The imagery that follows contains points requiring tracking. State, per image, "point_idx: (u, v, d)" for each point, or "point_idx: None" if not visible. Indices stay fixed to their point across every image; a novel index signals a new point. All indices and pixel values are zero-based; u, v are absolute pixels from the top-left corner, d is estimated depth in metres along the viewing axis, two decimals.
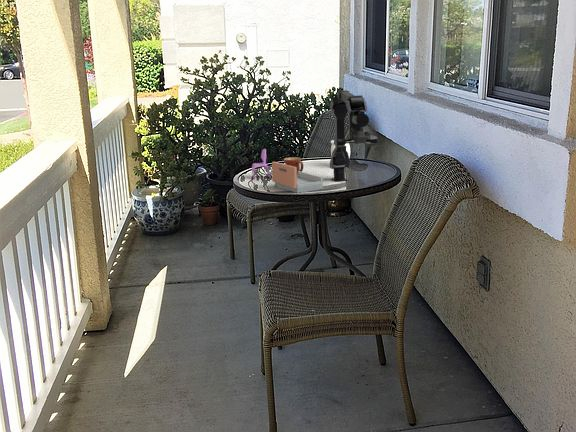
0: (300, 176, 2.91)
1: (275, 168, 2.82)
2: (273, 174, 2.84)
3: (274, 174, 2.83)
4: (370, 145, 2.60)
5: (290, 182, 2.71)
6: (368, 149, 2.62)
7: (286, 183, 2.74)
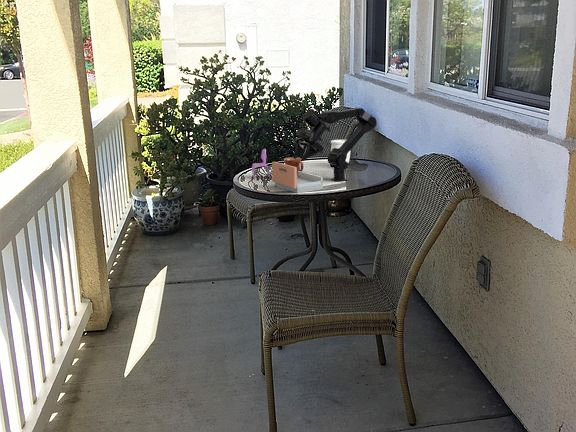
0: (300, 176, 2.91)
1: (275, 168, 2.82)
2: (273, 174, 2.84)
3: (274, 174, 2.83)
4: (307, 146, 2.74)
5: (290, 182, 2.71)
6: (306, 150, 2.75)
7: (286, 183, 2.74)
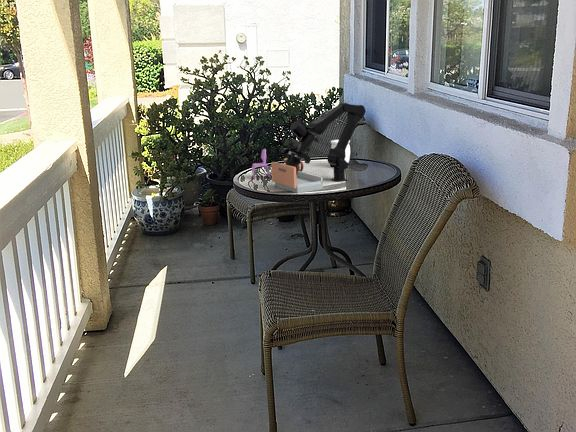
0: (300, 176, 2.91)
1: (274, 168, 2.81)
2: (273, 174, 2.84)
3: (274, 174, 2.83)
4: (291, 156, 2.75)
5: (290, 182, 2.71)
6: (289, 160, 2.75)
7: (286, 183, 2.74)
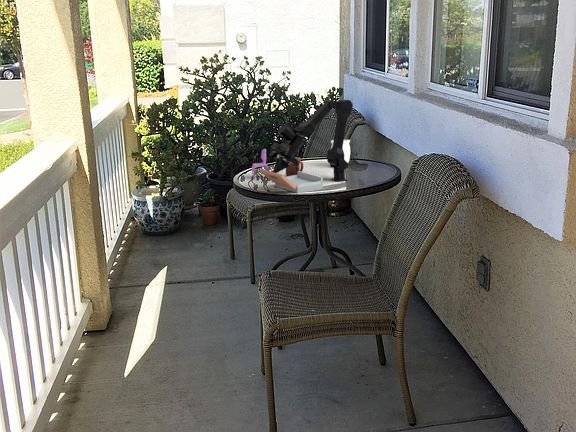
0: (300, 176, 2.91)
1: (266, 175, 2.80)
2: (269, 178, 2.83)
3: (269, 178, 2.82)
4: (279, 159, 2.72)
5: (287, 185, 2.71)
6: (278, 164, 2.73)
7: (285, 185, 2.74)
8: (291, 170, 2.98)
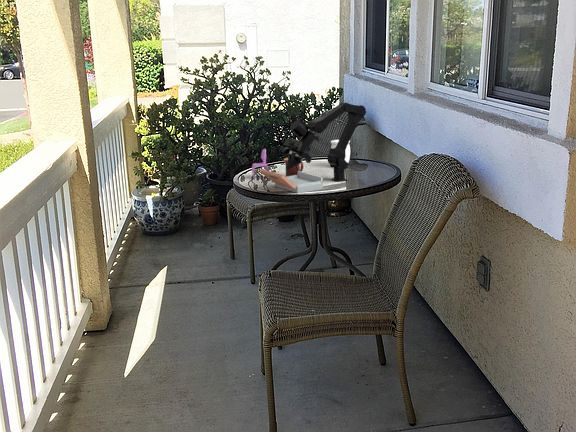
0: (300, 176, 2.91)
1: (266, 175, 2.80)
2: (269, 178, 2.83)
3: (269, 178, 2.82)
4: (292, 155, 2.75)
5: (287, 185, 2.71)
6: (291, 160, 2.76)
7: (285, 185, 2.74)
8: (291, 170, 2.98)
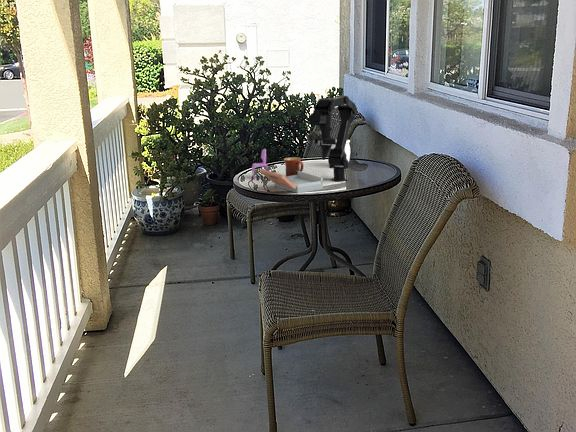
0: (300, 176, 2.91)
1: (266, 175, 2.80)
2: (269, 178, 2.83)
3: (269, 178, 2.82)
4: (319, 145, 2.74)
5: (287, 185, 2.71)
6: (321, 150, 2.75)
7: (285, 185, 2.74)
8: (291, 170, 2.98)
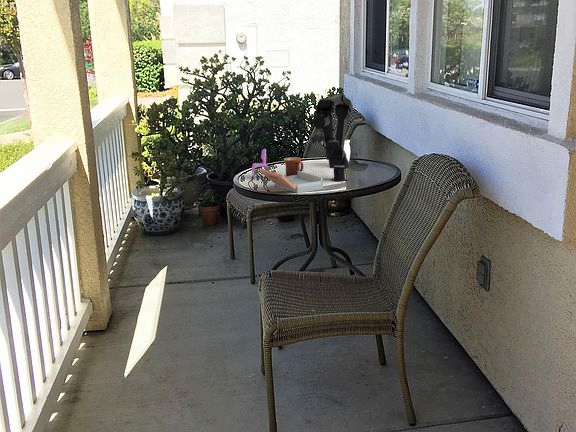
0: (300, 176, 2.91)
1: (266, 175, 2.80)
2: (269, 178, 2.83)
3: (269, 178, 2.82)
4: (323, 147, 2.73)
5: (287, 185, 2.71)
6: (325, 150, 2.74)
7: (285, 185, 2.74)
8: (291, 170, 2.98)
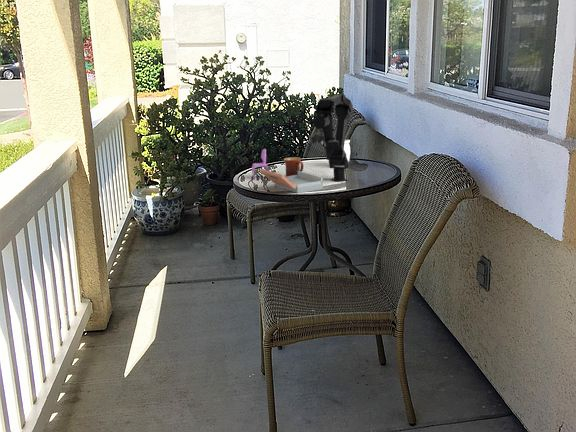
0: (300, 176, 2.91)
1: (266, 175, 2.80)
2: (269, 178, 2.83)
3: (269, 178, 2.82)
4: (323, 147, 2.73)
5: (287, 185, 2.71)
6: (325, 150, 2.74)
7: (285, 185, 2.74)
8: (291, 170, 2.98)
